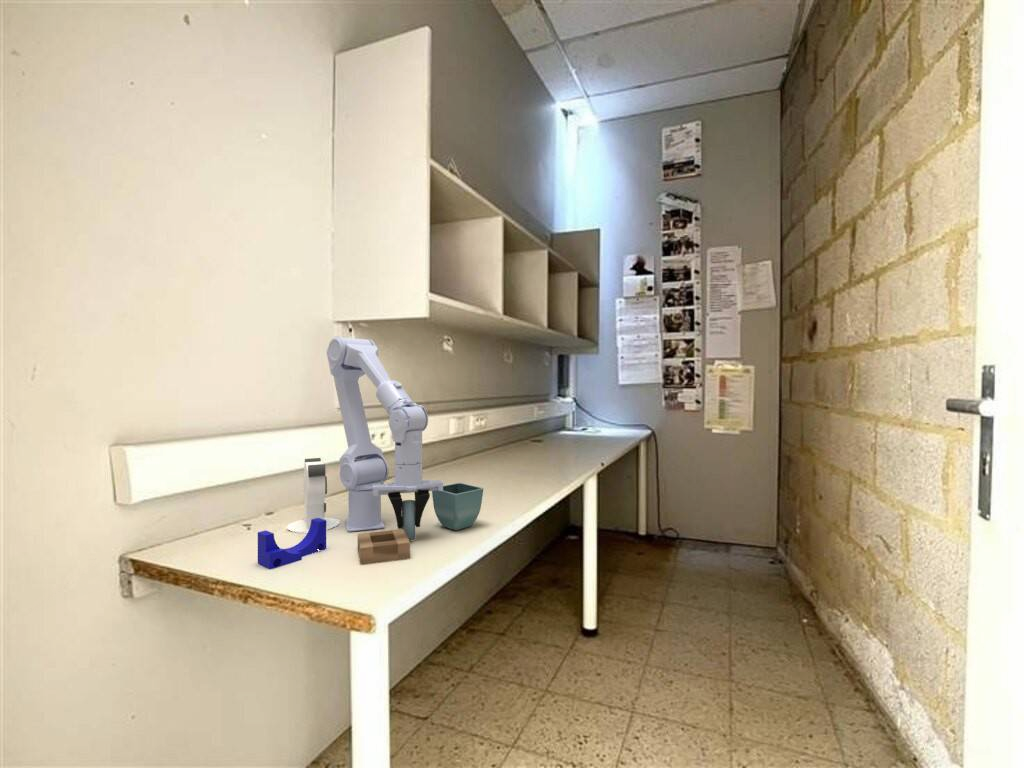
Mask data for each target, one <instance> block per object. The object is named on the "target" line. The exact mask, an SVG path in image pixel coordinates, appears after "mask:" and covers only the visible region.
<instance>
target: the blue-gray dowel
mask: <svg viewBox="0 0 1024 768" xmlns="http://www.w3.org/2000/svg"><path fill="white" fill-rule="evenodd" d="M402 529H403V530H404V532H405V534H406V536H407V538H408V539H409V541H410V542H412V541H411V540H413V541H415V540H416V526H415V499H414V500H413V499H403V500H402Z"/></svg>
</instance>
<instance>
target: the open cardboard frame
mask: <svg viewBox="0 0 1024 768" xmlns="http://www.w3.org/2000/svg"><path fill="white" fill-rule="evenodd" d="M357 554H358V558H359V559H360V560H359V563H360V564H362V565H367V564H368V565H369V563H370V564H376V562H378V563H385V562H392V560H393V561H400V560H399V559H401V560H407V559H406V558H409V559H411V541H409V539H408V538H407V536H406V534H405V532H404V530H403V529H391V530H382V531H381V530H379V531H372V532H371V531H370V532H363V533H361V532H360V533H357Z"/></svg>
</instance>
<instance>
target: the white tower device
mask: <svg viewBox="0 0 1024 768" xmlns="http://www.w3.org/2000/svg"><path fill="white" fill-rule="evenodd" d="M321 459H322V458H321V457H313V458H305V459H304V465H303V467H304V468H303V493H304V505H303V506H304V510H303V511H304V513H303V515H304V519H299V520H295V521H293V522H290V523H289V524H288V525H287V526H286V530H287V529H288V530H290V531H293V532H303V533H302V534H305V533H304V532H308V531H309V529H310V525H311V519H315V518H320V519H323V520H326V530H327V529H331V528H333V527H336V526H337V525H339V526H340V525H341V524H340V523H341V521H340V519H337V518H334V517H326V516H325V513H326V512H327V502H325V501H326V495H327V494H328V480H327V479H328V478H327V475H326V464H325V463H324V462H323V461H322V460H321ZM337 527H338V526H337ZM337 527H336V528H337ZM333 529H334V528H333ZM288 530H287V531H288ZM331 530H332V529H331ZM290 531H289V532H290ZM327 531H328V530H327ZM293 532H292V533H293Z"/></svg>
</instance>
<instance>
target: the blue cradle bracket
mask: <svg viewBox="0 0 1024 768" xmlns="http://www.w3.org/2000/svg"><path fill="white" fill-rule="evenodd" d="M317 549H319V550H323V551H326V550H327V531H326V520H323V519H320V518H315V519H311V525H310V529H309V531H308V533H306V535H305V536H304V538H302V540H300V542H298V543H297V544H295V545H293V546H291V547H287V548H281V547H279V545H278V544H277V542H276V540H275V533H274V532H271V531H268V530H262V531H257V565H259V566H262V567H263V568H265V569H267V570H273V569H277V568H279V567H282V566H287V565H290V564H293V563H296V562H299V561H302V559H303V557H307V556H309V555H312V553H313V554H316V553H319V552H318V550H317ZM325 549H326V550H325ZM315 552H316V553H315Z"/></svg>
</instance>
